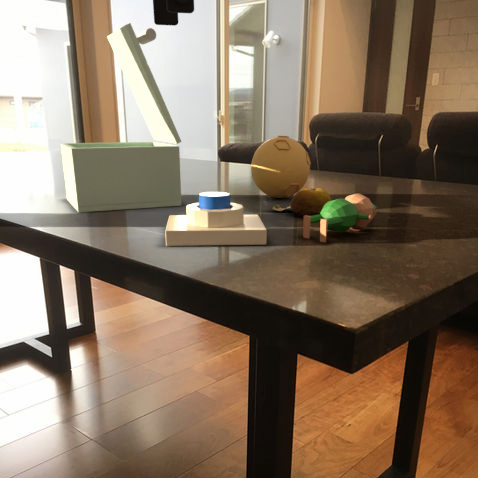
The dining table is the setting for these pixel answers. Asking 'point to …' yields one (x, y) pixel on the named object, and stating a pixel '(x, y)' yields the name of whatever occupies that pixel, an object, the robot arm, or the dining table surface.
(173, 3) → the robot arm
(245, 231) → the control block
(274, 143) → the stress ball
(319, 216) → the figurine
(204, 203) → the button
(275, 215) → the dining table surface
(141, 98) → the lid
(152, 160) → the compartment
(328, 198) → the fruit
